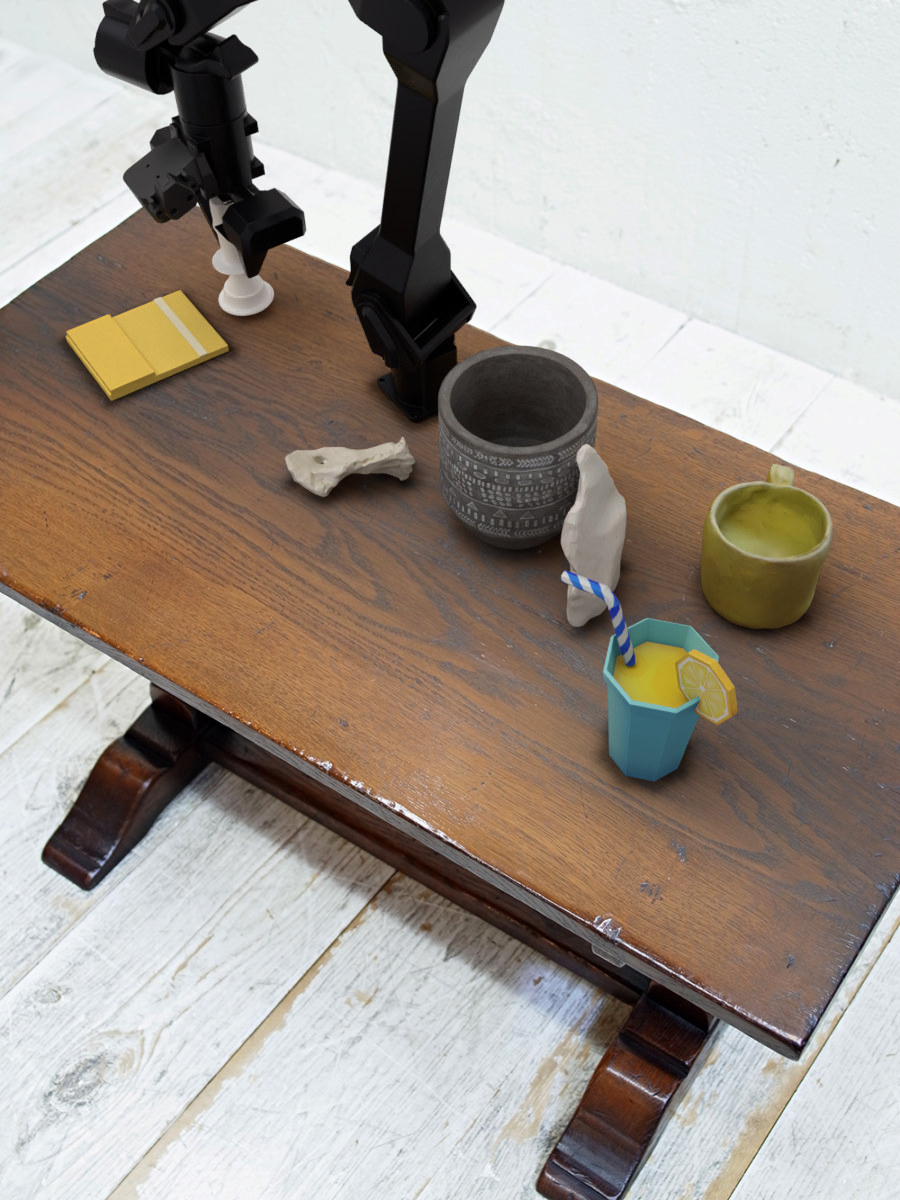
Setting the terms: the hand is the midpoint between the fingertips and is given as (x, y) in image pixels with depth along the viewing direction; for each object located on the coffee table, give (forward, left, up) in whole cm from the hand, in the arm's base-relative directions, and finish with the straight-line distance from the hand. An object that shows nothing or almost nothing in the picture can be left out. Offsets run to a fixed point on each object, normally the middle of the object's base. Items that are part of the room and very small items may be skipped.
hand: (239, 262), depth 120 cm
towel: (0, +11, -5) cm, 12 cm away
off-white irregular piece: (-26, +4, -5) cm, 27 cm away
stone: (-48, -6, -5) cm, 49 cm away
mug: (-53, -17, -5) cm, 56 cm away
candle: (0, 0, -4) cm, 4 cm away
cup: (-60, +1, -5) cm, 60 cm away
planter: (-37, -5, -5) cm, 38 cm away
